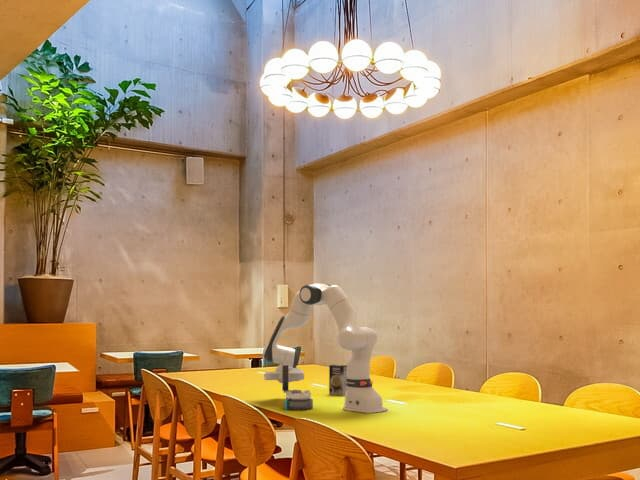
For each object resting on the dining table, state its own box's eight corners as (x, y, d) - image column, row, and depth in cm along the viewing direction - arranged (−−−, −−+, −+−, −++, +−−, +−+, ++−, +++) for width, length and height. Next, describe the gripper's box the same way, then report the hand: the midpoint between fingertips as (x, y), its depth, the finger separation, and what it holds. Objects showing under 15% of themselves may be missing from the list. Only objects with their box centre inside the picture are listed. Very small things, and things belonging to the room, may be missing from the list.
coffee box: (328, 394, 368) (328, 365, 370) (333, 393, 374) (333, 364, 376) (343, 395, 364) (343, 366, 366) (348, 394, 370) (348, 364, 371)
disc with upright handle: (314, 398, 326) (314, 365, 328) (304, 401, 315) (304, 367, 317) (287, 396, 332) (287, 364, 333) (277, 400, 321) (277, 366, 322)
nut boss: (318, 408, 322) (318, 398, 322) (293, 411, 312) (293, 400, 313) (301, 404, 333) (301, 394, 333) (276, 407, 323) (276, 397, 324)
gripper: (263, 368, 344) (263, 371, 330) (303, 368, 345) (304, 370, 332) (263, 380, 343) (263, 384, 329) (303, 380, 345) (304, 383, 331)
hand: (284, 377), depth 330 cm, fingers closed
